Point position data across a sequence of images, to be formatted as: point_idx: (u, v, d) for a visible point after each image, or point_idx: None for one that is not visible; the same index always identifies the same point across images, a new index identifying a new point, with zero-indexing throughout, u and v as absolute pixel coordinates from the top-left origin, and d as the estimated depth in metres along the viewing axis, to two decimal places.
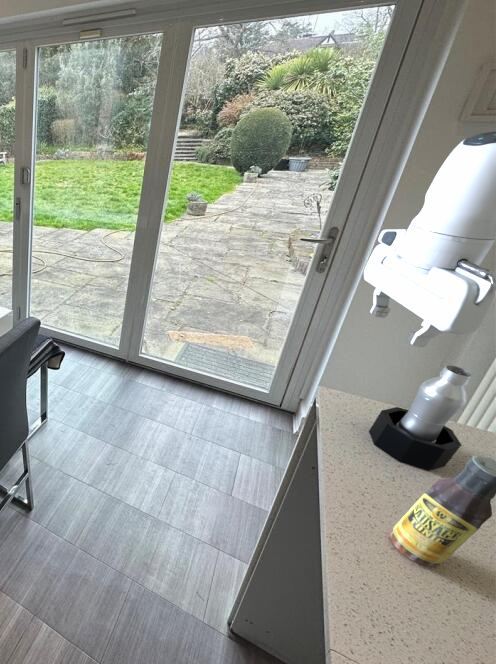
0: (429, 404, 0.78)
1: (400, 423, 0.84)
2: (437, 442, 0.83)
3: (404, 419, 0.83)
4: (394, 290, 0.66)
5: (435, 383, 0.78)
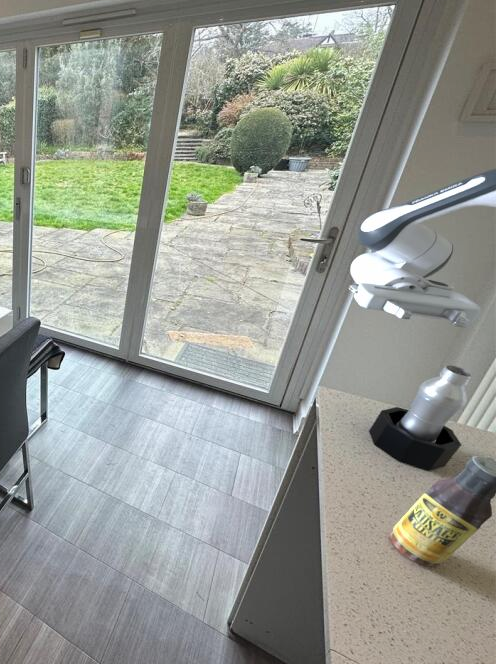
0: (429, 404, 0.78)
1: (400, 423, 0.84)
2: (437, 442, 0.83)
3: (404, 419, 0.83)
4: None
5: (435, 383, 0.78)
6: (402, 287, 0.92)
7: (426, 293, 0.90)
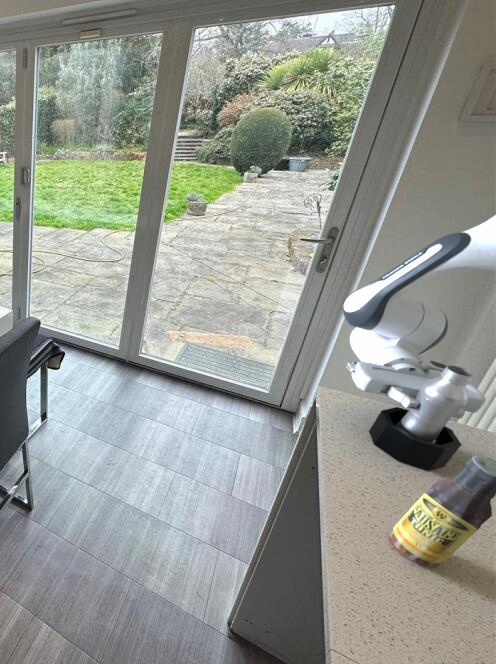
0: (430, 404, 0.78)
1: (400, 423, 0.84)
2: (437, 442, 0.83)
3: (404, 419, 0.83)
4: None
5: (436, 383, 0.78)
6: (402, 369, 0.88)
7: (427, 376, 0.86)
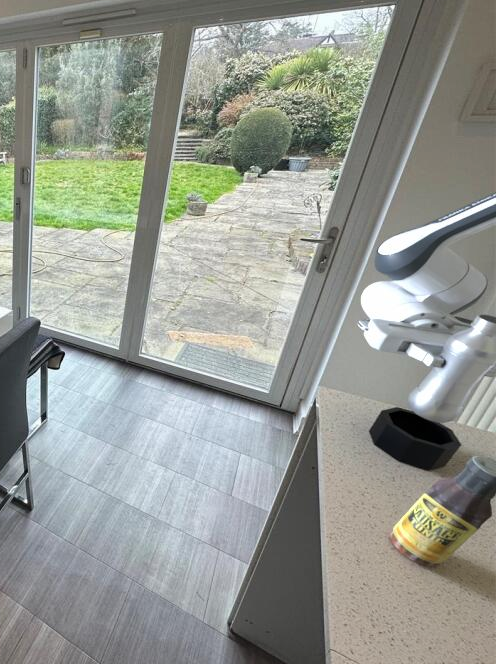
0: (458, 360, 0.67)
1: (421, 385, 0.73)
2: (437, 442, 0.83)
3: (426, 380, 0.72)
4: None
5: (465, 336, 0.66)
6: (423, 325, 0.76)
7: (452, 333, 0.75)
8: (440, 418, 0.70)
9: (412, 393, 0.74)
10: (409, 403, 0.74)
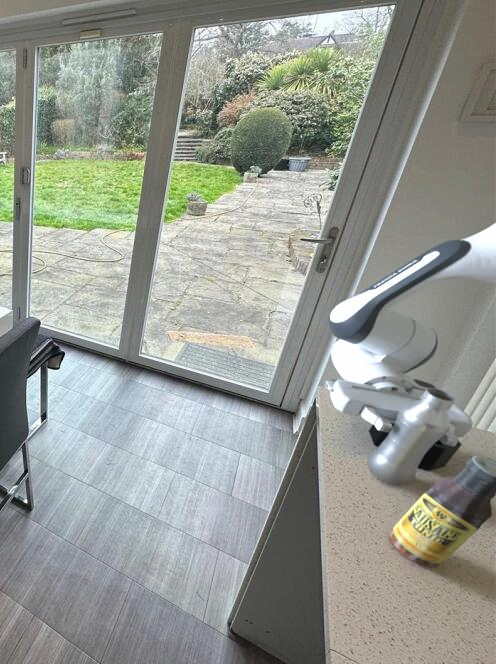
0: (409, 430, 0.72)
1: (379, 449, 0.77)
2: (437, 442, 0.83)
3: (383, 445, 0.77)
4: None
5: (416, 408, 0.71)
6: (383, 388, 0.81)
7: (411, 396, 0.80)
8: (396, 481, 0.75)
9: (371, 455, 0.79)
10: (369, 464, 0.79)
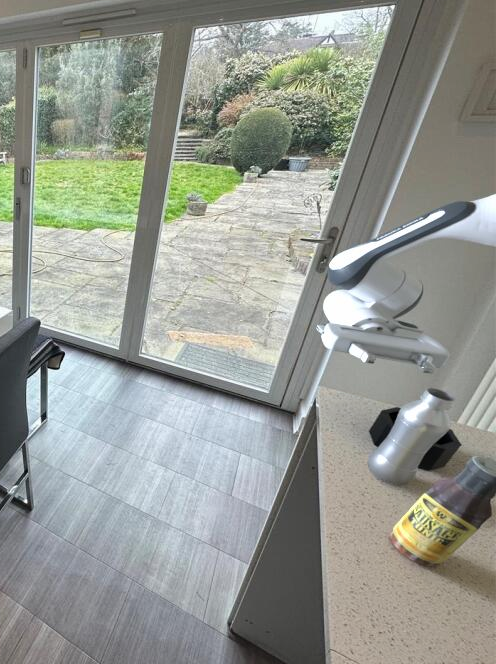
0: (409, 430, 0.72)
1: (379, 449, 0.77)
2: (437, 442, 0.83)
3: (383, 445, 0.77)
4: None
5: (416, 408, 0.71)
6: (370, 329, 0.89)
7: (394, 335, 0.88)
8: (396, 481, 0.75)
9: (371, 455, 0.79)
10: (369, 464, 0.79)
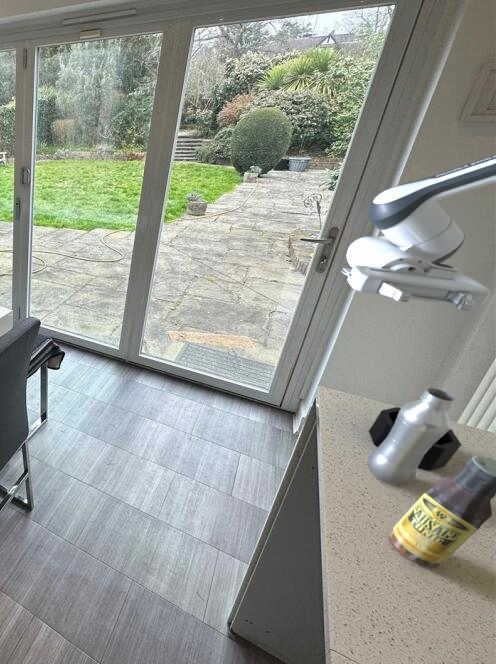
0: (409, 430, 0.72)
1: (379, 449, 0.77)
2: (437, 442, 0.83)
3: (383, 445, 0.77)
4: None
5: (416, 408, 0.71)
6: (401, 269, 0.82)
7: (428, 275, 0.81)
8: (396, 481, 0.75)
9: (371, 455, 0.79)
10: (369, 464, 0.79)
